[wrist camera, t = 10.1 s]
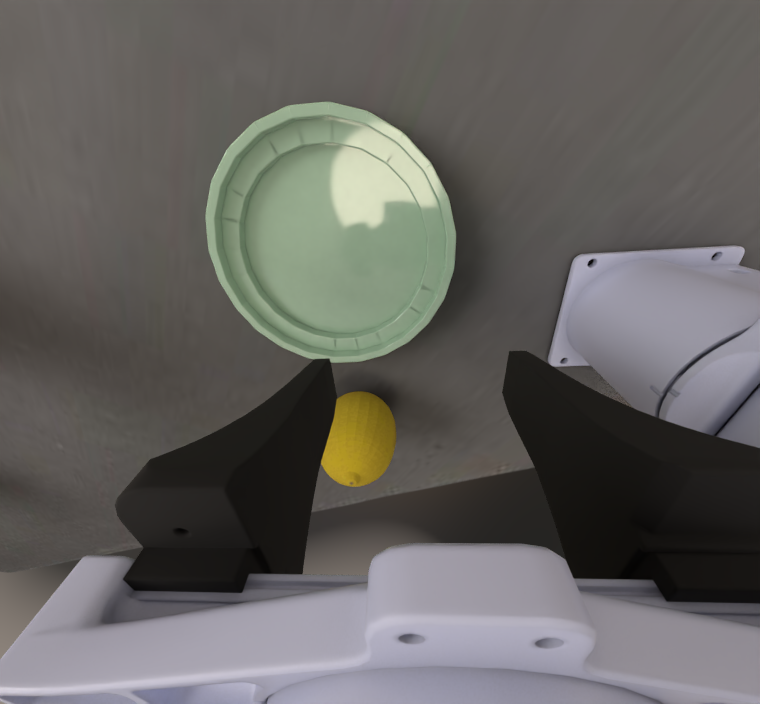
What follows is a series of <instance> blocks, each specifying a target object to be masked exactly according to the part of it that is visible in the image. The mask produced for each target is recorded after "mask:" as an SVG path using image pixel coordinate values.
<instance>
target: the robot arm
mask: <svg viewBox="0 0 760 704" xmlns="http://www.w3.org/2000/svg"><path fill="white" fill-rule="evenodd" d="M744 252H745V250H744V248H743V247H740V246H735V245H732V246H714V247H697V248H679V249H661V250H643V251H626V252H608V253H590V254H580V255H578V256H577V257H575V259H574V260H573V262H572V265H571V269H570V273H569V277H568V281H567V285H566V289H565V293H564V297H563V301H562V305H561V309H560V313H559V317H558V321H557V325H556V329H555V333H554V337H553V341H552V345H551V349H550V352H549V356H548V362H549V364H550V365H549V364H547V363H546V362H544V361H542V360H541V359H539V358H538V357H536V356H534V355H532V354H531V353H529V352H527V351H509V356H508V362H507V368H506V374H505V380H504V386H503V392H502V393H503V396H504V400H505V403H506V406H507V409H508V412H509V415H510V417H511V419H512V421H513V423H514V425H515V427H516V429H517V432H518V434H519V436H520V438H521V440H522V442H523V444H524V446H525V448H526V450H527V452H528V454H529V456H530V458H531V460H532V462H533V464H534V466H535V469H536V471H537V473H538V476H539V479H540V482H541V484H542V487H543V490H544V493H545V495H546V498H547V501H548V504H549V507H550V510H551V513H552V516H553V519H554V522H555V525H556V528H557V532H558V535H559V538H560V541H561V544H562V548H563V551H564V554H565V558H566V560H565V559H563V558H562V557H560V556H559V555H557V554H555V553H554V552H552V551H551V550H549V549H547V548H545V547H540V546H534V545H527V544H472V543H471V544H470V543H468V544H467V543H466V544H465V543H410V544H403V545H396V546H391V547H389V548H387V549H386V550H384V551H382V552H380V553H378V554H377V555H376V556H374V557H373V559H372V562H371V565H370V567H369V574H368V575H307V574H302V573H303V565H304V557H305V549H306V542H307V536H308V528H309V522H310V516H311V510H312V504H313V498H314V492H315V487H316V481H317V476H318V472H319V468H320V464H321V460H322V457H323V454H324V450H325V447H326V444H327V440H328V437H329V433H330V430H331V426H332V423H333V419H334V414H335V408H336V401H337V395H336V390H335V384H334V379H333V373H332V368H331V362H330V358H325V359H315V360H313V361H312V362H311V363H310V364H309V365H308V366H307V367H305V368H304V369H303V370H302V371H301V372H300V373H299V374H298V375H297V376H296V377H295V378H293V379H292V380H291V381H290V382H289V383H288V384H287V385H285V386H284V387H283V388H282V389H281V390H279V391H278V392H277V393H276V394H274V395H273V396H272V397H271V398H269V399H268V400H267V401H265V402H264V403H263V404H261V405H260V406H258V407H257V408H255V409H254V410H252V411H251V412H249V413H248V414H246V415H245V416H243V417H241V418H239V419H238V420H236V421H234V422H232V423H231V424H229V425H227V426H225V427H224V428H222V429H220V430H218V431H216V432H214V433H212V434H210V435H208V436H206V437H204V438H202V439H199V440H197V441H195V442H193V443H191V444H188V445H186V446H184V447H181V448H178V449H176V450H173V451H171V452H168V453H166V454H163V455H161V456H158V457H156V458H153V459H150V460H149V461H148V463H147V464H146V465H145V466H144V467H143V468H142V470H141V471H140V472H139V473H138V474H137V476H136V477H135V478H134V479H133V480H132V481H131V483H130V484H129V485H128V486H127V487H126V488H125V490H124V491H123V492H122V493H121V494H120V496H119V497H118V498H117V501H116V504H115V507H116V511H117V516H118V517H119V519H120V520H121V522H122V523H123V524H124V525H125V527H126V528H127V529H128V530H129V531H130V532H131V533H132V535H133V536H134V537H135V538H136V539H137V540H138V541H139V543H140V544H141V545H142V546H143V547H144V548H143V550H142V551H141V553H140V554H139V556H138V557H137V559H136V560H134V559H132V558H129V557H126V556H100V555H88V556H85V557H83V558H82V559H81V560H80V562H79V563H78V564H77V565H76V567H75V568H74V569H73V570H72V572H71V573H70V574H69V575H68V576H67V578H66V579H65V580H64V581H63V583H62V584H61V585H60V586H59V588H58V589H57V590H56V591H55V592H54V594H53V595H52V596H51V598H50V599H49V600H48V601H47V602H46V604H45V605H44V606H43V607H42V609H41V610H40V611H39V612H38V614H37V615H36V616H35V617H34V618H33V620H32V621H31V622H30V624H29V625H28V626H27V627H26V628H25V630H24V631H23V632H22V633H21V635H20V636H19V637H18V638H17V640H16V641H15V642H14V643H13V644H12V646H11V647H10V648H9V649H8V651H7V652H6V653H5V654H4V656H3V657H2V658H1V659H0V701H1V702H3V703H6V704H760V271H758V270H754V269H751V268H747V267H743V266H740V265H739V263H740V261H741V259H742V257H743V255H744ZM715 253H716V255H715V256H714V257H713V258H712V256H713V255H714V254H715ZM591 259H593V263H592V264H591V265H589V266H588V262H589V261H590V260H591ZM563 358H565V360H563V361H561V359H563ZM589 365H591V366H592V367H593V368H594V369H595V370H596V371H597V372H598V373H599V374H600V375H601V376H602V377H603V378H604V379H605V380H606V381H607V382H608V383H609V384H610V385H611V386H612V387H613V388H614V389H615V390H616V391H617V392H618V393H619V394H620V395H621V396H622V397H623V398H624V399H625V400H626V401H627V402H628V403H629V404H630V405H631V406H632V407H633V408H631V407H629V406H627V405H624V404H622V403H620V402H618V401H615V400H613V399H611V398H609V397H607V396H605V395H602V394H600V393H598V392H596V391H595V390H593V389H591V388H589V387H587V386H585V385H583V384H581V383H580V382H578V381H576V380H574V379H572V378H571V377H569V376H567V375H566V374H564V373H562V372H561V371H559V370H557V369H556V368H554V367H552V366H555V367H557V366H589ZM566 561H567V562H566Z"/></svg>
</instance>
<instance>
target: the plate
mask: <svg viewBox="0 0 760 704" xmlns="http://www.w3.org/2000/svg"><path fill="white" fill-rule="evenodd" d="M448 198H449V197H448V195H447V193H446V191H445V189H444V187H443V185H442V183H441V181H440V179H439V177H438V175H437V173H436V171H435V169H434V167H433V165H432V164H431V162H430V161H429V160H428V159H427V158H426V156H425V155H424V154H423V153H422V152H421V151H420V150H419V149H418V148H417V147H416V145H415V144H414V143H413V142H412V141H411V140H410V139H409V138H408V137H407V135H406V134H403V132H402V131H400V130H399V129H397V128H395V127H394V126H392V125H391V124H389V123H387V122H386V121H384V120H382V119H381V118H379V117H377V116H376V115H374V114H372V113H371V112H368V111H366V110H362V109H358V108H354V107H350V106H346V105H342V104H337V103H333V102H317V103H306V104H296V105H289V106H286V107H284V108H282V109H280V110H278V111H275V112H273V113H271V114H269V115H267V116H265V117H263V118H261V119H259V120H256V121H255V123H254V122H253V123H252V124H251V125H250V126H249V127H248V128H247V129H246V130H245V131H244V132H243V133H242V134H241V135H240V136H239V137H238V138H237V139H236V140H235V141H234V142H233V143H232V144H231V145H230V146H229V147H228V149H227V150H226V152H225V154H224V156H223V158H222V160H221V162H220V164H219V166H218V168H217V170H216V172H215V175H214V177H213V179H212V181H211V185H210V191H209V197H208V203H207V209H206V214H205V218H206V229H207V239H208V249H209V253H210V256H211V259H212V262H213V265H214V268H215V270H216V273H217V276H218V279H219V281H220V283H221V285H222V287H223V288H224V290H225V292H226V293H227V295H228V296H229V298H230V300H231V301H232V303H233V304H234V306H235V308H237V310H238V311H239V312H240V313H241V314H242V315H243V316H244V317H245V318H246V320H247V321H248V322H249V323H250V324H251V325H252V326H253V327H254V328H255V329H256V330H258V332H260V333H261V334H263V335H264V336H266V337H267V338H269V339H270V340H271V341H273V342H274V343H276V344H277V345H279V346H280V347H282V348H284V349H287V350H289V351H292V352H294V353H296V354H299V355H301V356H304V357H307V358H310V359H325V358H330V362H332V363H340V362H359V361H360V362H361V361H365V360H368V359H372V358H376V357H379V356H383V355H386V354H388V353H390V352H391V351H393V350H395V349H397V348H399V347H401V346H402V345H404V344H406V343H408V342H409V341H410V340H411V339H412V338H413V337H415V336H416V335H417V334H418V333H419V332H420V331H421V330H422V329H423V328H424V327H425V326H426V325H427V324H428V323H429V322H430V321H431V319H432V318H433V316H434V314H435V313H436V311H437V310H438V308H439V307H440V305H441V304H442V302H443V300H444V298H445V296H446V293H447V290H448V287H449V284H450V281H451V278H452V275H453V272H454V268H455V251H456V230H455V225H454V220H453V215H452V210H451V205H450V200H449V199H448Z"/></svg>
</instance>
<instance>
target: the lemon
mask: <svg viewBox="0 0 760 704" xmlns="http://www.w3.org/2000/svg"><path fill="white" fill-rule="evenodd" d="M395 443H396V427H395V421H394V417H393V415H392V413H391V411H390V409H389V407H388V406H387V405H386V404H385V402H384V401H383V400H382V399H380V398H379V397H377V396H376V395H374V394H371V393H369V392H363V391H355V392H350V393H347V394H345V395H343V396H341V397H339V398H338V399H337V401H336V408H335V414H334V419H333V423H332V426H331V430H330V433H329V437H328V440H327V444H326V447H325V450H324V454H323V457H322V460H321V464H322V466H323V468H324V470H325V471H326V472H327V474H328V475H329V476H330V477H331V478H332V479H334V480H335V481H337V482H338V483H341V484H343V485H346V486H353V487H356V486H363V485H367V484H369V483H371V482H373V481H375V480H376V479H378V478H379V477H380V476H381V475H382V474H383V473H384V472H385V470H386V469H387V467H388V465H389V464H390V462H391V459H392V456H393V452H394V448H395Z"/></svg>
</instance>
